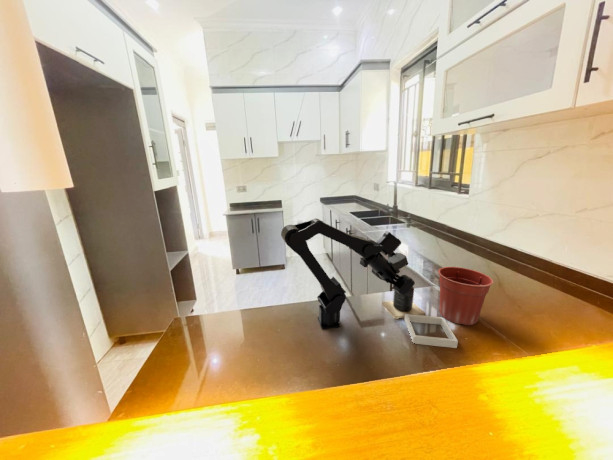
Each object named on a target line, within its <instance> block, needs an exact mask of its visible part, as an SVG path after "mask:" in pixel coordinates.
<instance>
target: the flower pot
mask: <svg viewBox="0 0 613 460" xmlns="http://www.w3.org/2000/svg"><path fill="white" fill-rule="evenodd" d="M437 271H438V275H439V307H438V309H439V313H440V316H442V317H443V318H444V319H445V320H446V321H450V322H451V323H455V324H458V325H460V324H462V325H464V326H473V325H475V324H477V322H478V320H479V317H480V314H481V312H482V308H483V305H484V302H485V299H486V297H487V294H488V293H489V291H490V289H491V288H490V287H491V286H492V285H493V284H494V280H493V278H492V277H490V276H489V275H487V274H485V273H483V272H481V271H478V270H474V269H470V268H466V267H459V266H445V267H441V268H439V269H438V270H437Z"/></svg>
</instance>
